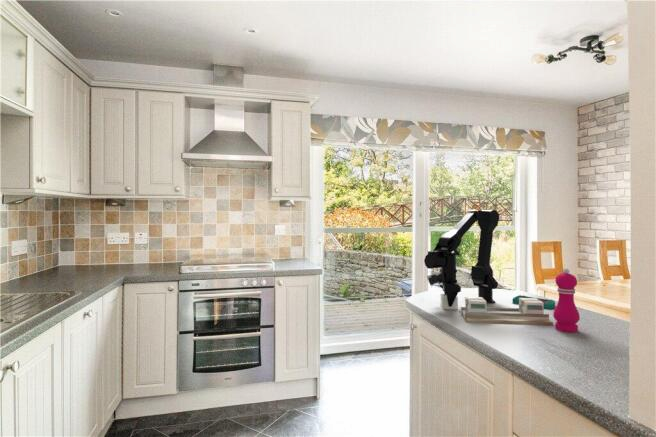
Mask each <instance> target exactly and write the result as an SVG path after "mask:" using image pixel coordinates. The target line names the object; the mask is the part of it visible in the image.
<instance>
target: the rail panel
mask: <svg viewBox="0 0 656 437" xmlns="http://www.w3.org/2000/svg"><path fill="white" fill-rule="evenodd" d="M537 298H538V297H533V298H519V304H518V307H487V304H488V303H486V300H484V299H483V298H482V297H478V296H465V300H464V301H465V306H460V308H459V313H460V314H461V316H462V317H463V319H464V320H465V321H466V322H467V323H481V324H482V323H483V324H486V323H487V324H488V323H491V324H515V325H516V324H517V325H518V324H520V325H521V324H523V325H524V324H526V325H554V321H553V320H551V319H550V314H548V313H544V311H545V310H544V309H545V308H544V303H543V302H542V301H540V300H538V299H537Z"/></svg>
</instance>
